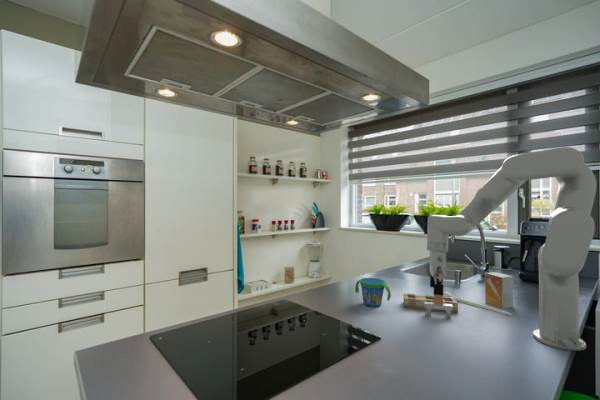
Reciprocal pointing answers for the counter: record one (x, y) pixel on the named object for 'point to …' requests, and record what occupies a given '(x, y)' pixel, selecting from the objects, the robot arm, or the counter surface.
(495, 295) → the small box
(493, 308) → the spatula
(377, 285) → the snack cup
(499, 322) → the counter surface
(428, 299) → the rail
